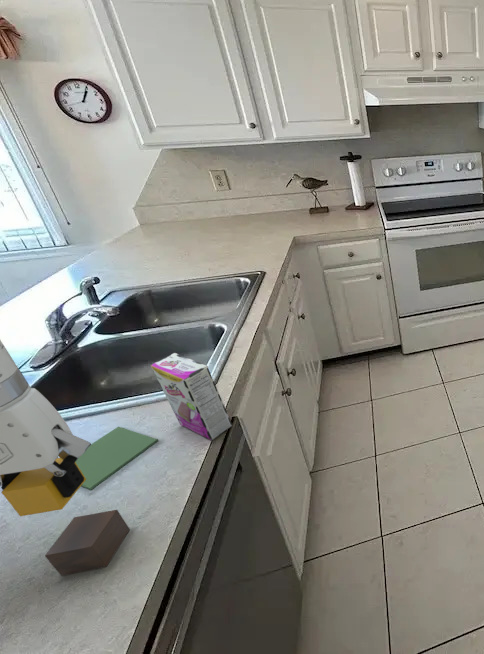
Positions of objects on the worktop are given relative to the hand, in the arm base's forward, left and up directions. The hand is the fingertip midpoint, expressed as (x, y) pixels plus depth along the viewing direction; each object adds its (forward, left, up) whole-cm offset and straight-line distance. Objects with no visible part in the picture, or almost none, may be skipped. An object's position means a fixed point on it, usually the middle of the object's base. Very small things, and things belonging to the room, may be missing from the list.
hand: (51, 491), depth 59 cm
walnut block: (0, 0, -14) cm, 14 cm away
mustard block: (0, 0, -1) cm, 1 cm away
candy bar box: (-8, +25, -14) cm, 30 cm away
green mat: (-20, +13, -14) cm, 27 cm away
